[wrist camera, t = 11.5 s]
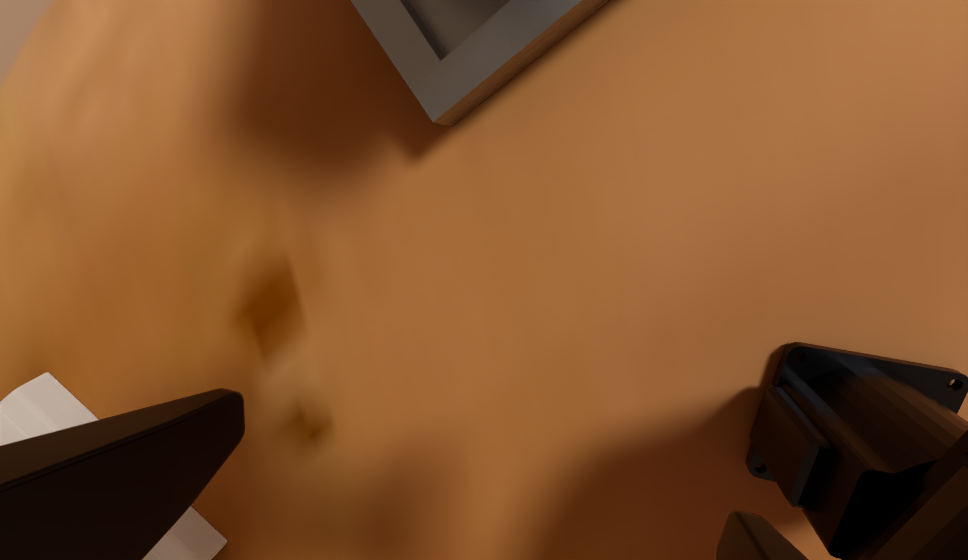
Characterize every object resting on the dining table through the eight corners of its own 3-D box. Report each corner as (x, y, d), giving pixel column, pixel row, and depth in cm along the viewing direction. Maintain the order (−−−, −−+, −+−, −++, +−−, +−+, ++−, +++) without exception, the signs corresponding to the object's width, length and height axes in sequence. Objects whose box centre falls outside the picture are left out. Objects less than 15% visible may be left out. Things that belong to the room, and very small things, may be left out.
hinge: (232, 544, 29) (54, 736, 22) (218, 554, 32) (57, 725, 25) (42, 367, 29) (-212, 500, 21) (46, 393, 32) (-175, 518, 24)
